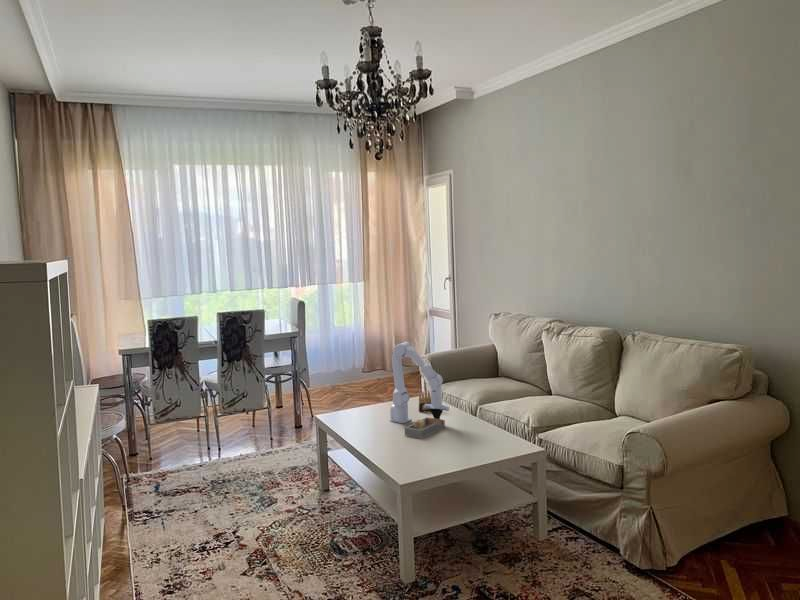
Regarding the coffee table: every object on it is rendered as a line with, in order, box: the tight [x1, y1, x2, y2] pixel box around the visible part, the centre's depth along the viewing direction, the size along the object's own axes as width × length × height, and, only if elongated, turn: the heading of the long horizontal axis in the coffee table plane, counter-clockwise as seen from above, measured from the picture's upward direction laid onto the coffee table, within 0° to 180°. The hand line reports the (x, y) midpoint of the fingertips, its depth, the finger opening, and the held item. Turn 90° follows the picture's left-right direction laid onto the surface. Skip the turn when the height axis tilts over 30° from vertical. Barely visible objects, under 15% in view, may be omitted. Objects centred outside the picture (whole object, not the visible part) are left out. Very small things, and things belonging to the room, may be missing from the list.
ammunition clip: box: [418, 390, 432, 413], centre depth 360 cm, size 11×2×12 cm, turn 106°
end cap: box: [424, 416, 446, 428], centre depth 331 cm, size 12×1×4 cm, turn 55°
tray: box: [404, 417, 444, 439], centre depth 322 cm, size 10×21×4 cm, turn 145°
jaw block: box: [413, 419, 425, 430], centre depth 319 cm, size 4×4×6 cm
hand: (437, 422), depth 333 cm, fingers closed, pressing on end cap
